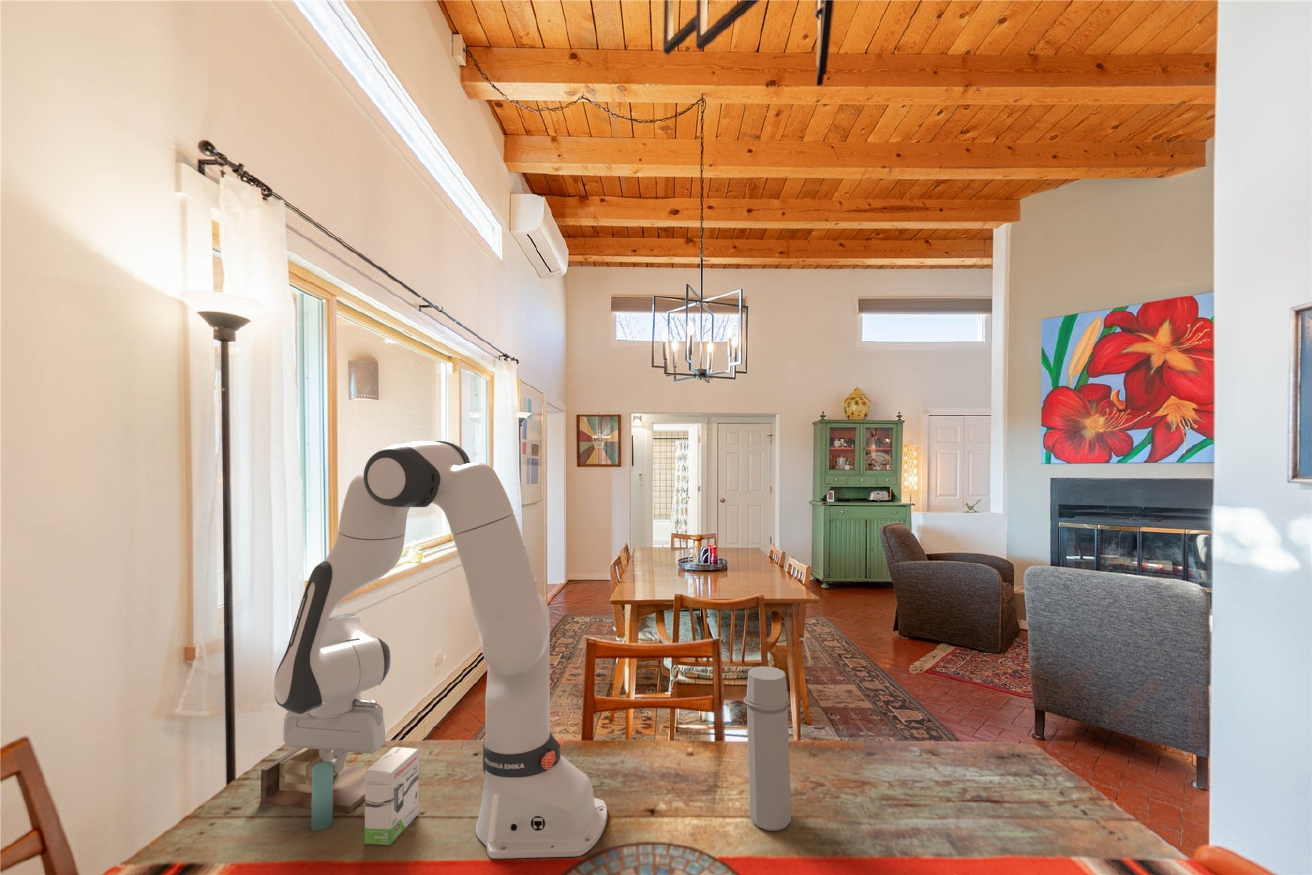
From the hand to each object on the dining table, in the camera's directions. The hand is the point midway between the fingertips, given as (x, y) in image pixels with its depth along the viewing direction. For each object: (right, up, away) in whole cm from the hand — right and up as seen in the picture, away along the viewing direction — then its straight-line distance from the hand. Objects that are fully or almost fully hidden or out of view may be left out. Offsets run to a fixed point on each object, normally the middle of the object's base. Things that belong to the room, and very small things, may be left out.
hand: (334, 770), depth 108 cm
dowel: (+4, -3, -11) cm, 12 cm away
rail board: (-1, -4, 0) cm, 4 cm away
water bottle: (+83, -2, -11) cm, 83 cm away
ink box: (+17, -3, -12) cm, 22 cm away
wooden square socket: (-5, -3, +1) cm, 6 cm away
